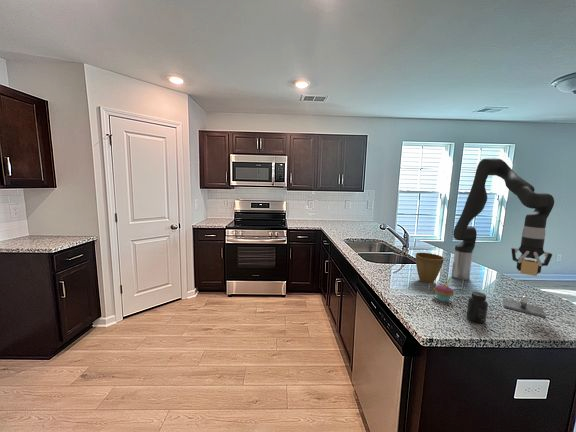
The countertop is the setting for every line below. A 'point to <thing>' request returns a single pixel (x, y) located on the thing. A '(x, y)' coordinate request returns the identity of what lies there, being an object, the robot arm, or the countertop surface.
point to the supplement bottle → (477, 308)
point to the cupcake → (444, 292)
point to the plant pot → (428, 266)
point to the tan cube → (529, 267)
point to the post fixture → (524, 307)
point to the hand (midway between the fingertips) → (528, 271)
